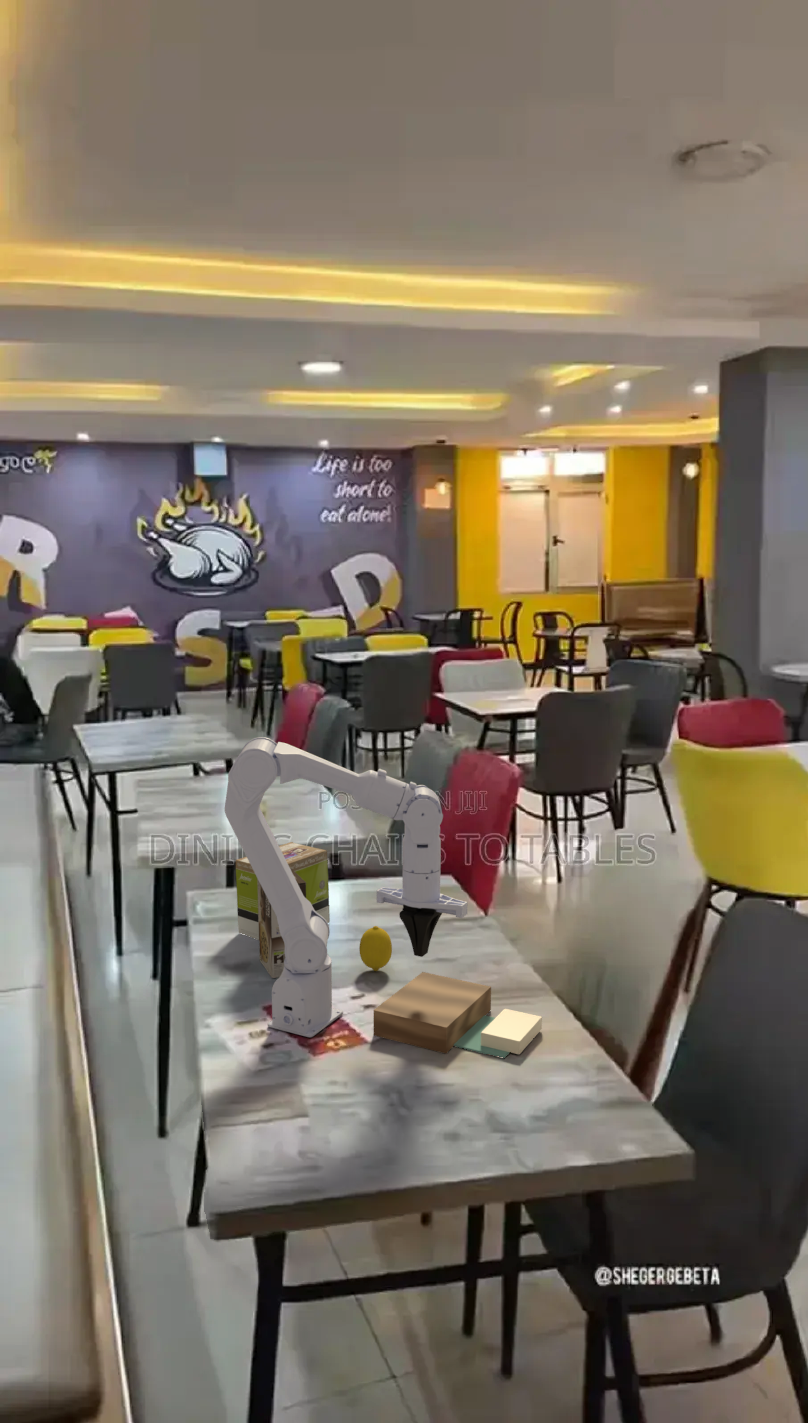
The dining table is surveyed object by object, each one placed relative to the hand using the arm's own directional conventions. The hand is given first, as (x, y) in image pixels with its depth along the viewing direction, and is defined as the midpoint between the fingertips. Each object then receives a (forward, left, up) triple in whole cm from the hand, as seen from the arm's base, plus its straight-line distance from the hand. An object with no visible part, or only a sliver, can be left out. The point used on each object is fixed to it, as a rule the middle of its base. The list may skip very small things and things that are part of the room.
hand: (420, 953), depth 164 cm
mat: (-1, -13, -10) cm, 16 cm away
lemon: (+12, +15, -11) cm, 22 cm away
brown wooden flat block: (-1, -3, -10) cm, 11 cm away
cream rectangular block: (0, -15, -8) cm, 17 cm away
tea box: (+21, +40, -11) cm, 47 cm away
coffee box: (+6, +30, -11) cm, 32 cm away
